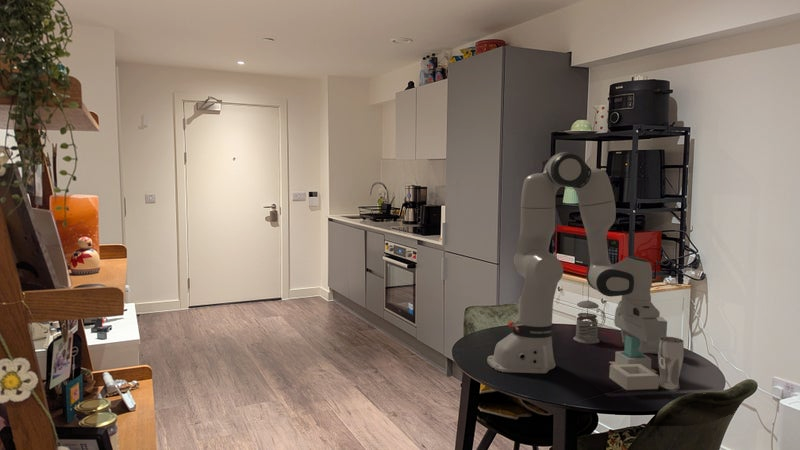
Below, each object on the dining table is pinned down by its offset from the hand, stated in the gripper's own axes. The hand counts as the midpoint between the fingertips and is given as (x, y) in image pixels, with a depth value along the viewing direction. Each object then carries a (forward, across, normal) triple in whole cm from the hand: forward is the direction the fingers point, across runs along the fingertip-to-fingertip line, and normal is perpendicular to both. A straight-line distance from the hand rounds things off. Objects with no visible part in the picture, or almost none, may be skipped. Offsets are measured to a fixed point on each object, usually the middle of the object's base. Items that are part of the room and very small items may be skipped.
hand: (633, 347), depth 183 cm
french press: (+8, -33, +1) cm, 34 cm away
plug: (+6, 0, 0) cm, 6 cm away
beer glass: (+8, +17, +2) cm, 18 cm away
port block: (+7, +14, -8) cm, 18 cm away
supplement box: (+8, -16, +17) cm, 25 cm away
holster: (+7, 0, 0) cm, 7 cm away
